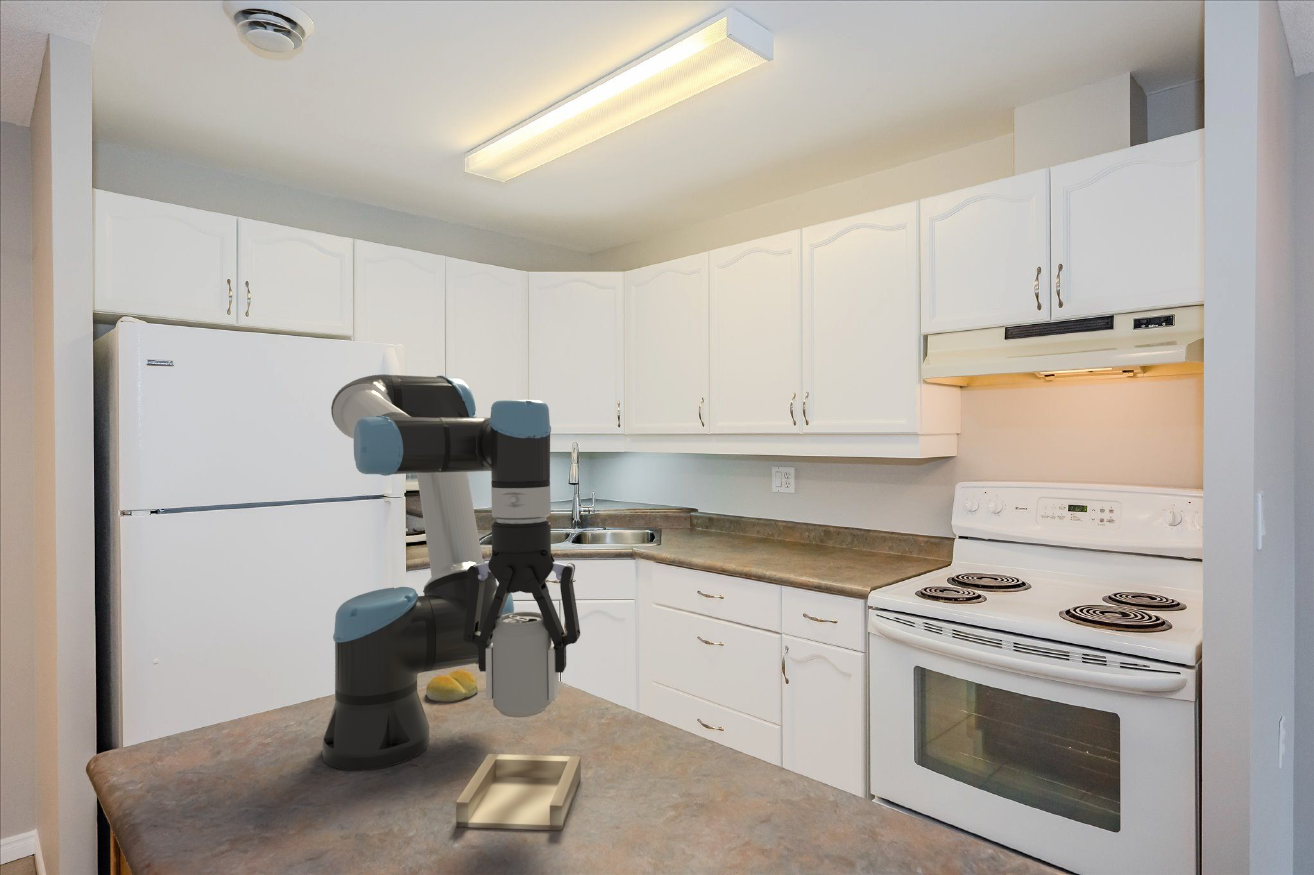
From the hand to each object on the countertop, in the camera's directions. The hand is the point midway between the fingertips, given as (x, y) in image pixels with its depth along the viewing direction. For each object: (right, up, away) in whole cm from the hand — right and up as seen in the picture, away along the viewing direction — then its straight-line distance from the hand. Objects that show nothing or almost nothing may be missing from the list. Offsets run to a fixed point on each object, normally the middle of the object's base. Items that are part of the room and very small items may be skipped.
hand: (522, 696), depth 93 cm
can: (0, -2, 0) cm, 2 cm away
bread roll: (-20, -14, +39) cm, 46 cm away
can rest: (0, -14, 0) cm, 14 cm away
